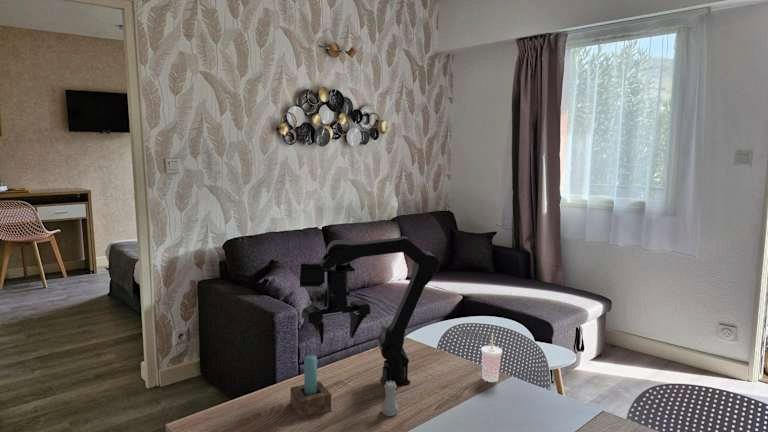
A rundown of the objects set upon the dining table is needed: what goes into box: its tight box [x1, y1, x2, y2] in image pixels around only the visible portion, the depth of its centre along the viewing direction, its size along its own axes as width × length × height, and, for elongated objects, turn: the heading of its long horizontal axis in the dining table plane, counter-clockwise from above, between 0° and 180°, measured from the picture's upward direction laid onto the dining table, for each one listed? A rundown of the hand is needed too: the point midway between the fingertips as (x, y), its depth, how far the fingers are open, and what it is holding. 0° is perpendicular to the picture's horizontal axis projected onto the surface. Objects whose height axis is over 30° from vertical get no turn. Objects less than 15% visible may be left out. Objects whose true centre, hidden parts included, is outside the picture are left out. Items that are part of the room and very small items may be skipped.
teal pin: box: [303, 354, 318, 396], centre depth 130 cm, size 3×3×13 cm
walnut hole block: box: [290, 380, 332, 419], centre depth 130 cm, size 8×8×4 cm
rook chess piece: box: [380, 381, 399, 417], centre depth 129 cm, size 4×4×8 cm
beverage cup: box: [480, 332, 503, 383], centre depth 148 cm, size 6×6×14 cm
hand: (336, 340), depth 142 cm, fingers open, 9 cm apart
